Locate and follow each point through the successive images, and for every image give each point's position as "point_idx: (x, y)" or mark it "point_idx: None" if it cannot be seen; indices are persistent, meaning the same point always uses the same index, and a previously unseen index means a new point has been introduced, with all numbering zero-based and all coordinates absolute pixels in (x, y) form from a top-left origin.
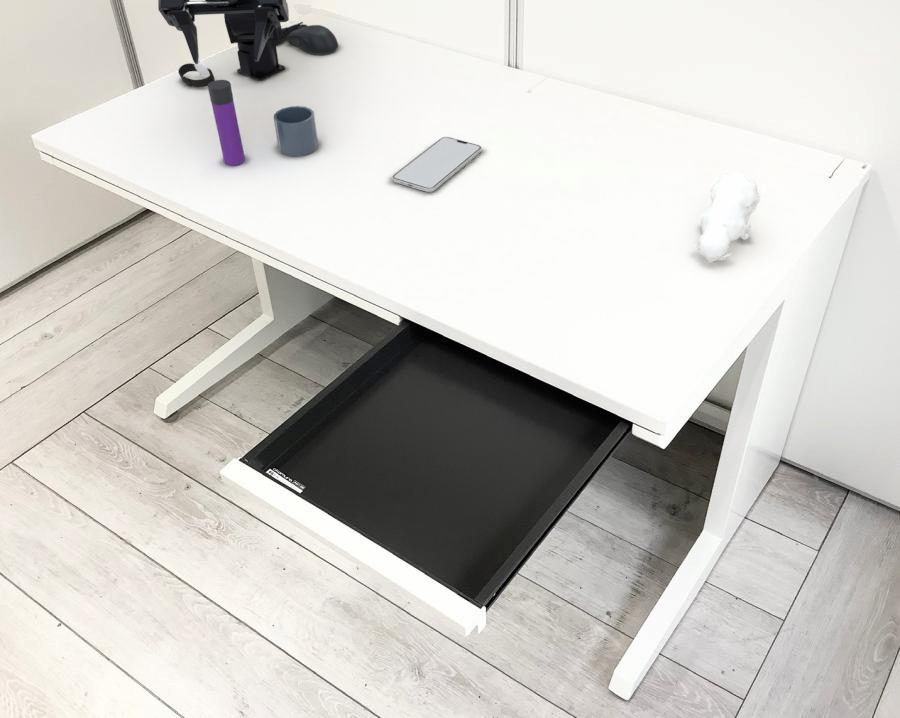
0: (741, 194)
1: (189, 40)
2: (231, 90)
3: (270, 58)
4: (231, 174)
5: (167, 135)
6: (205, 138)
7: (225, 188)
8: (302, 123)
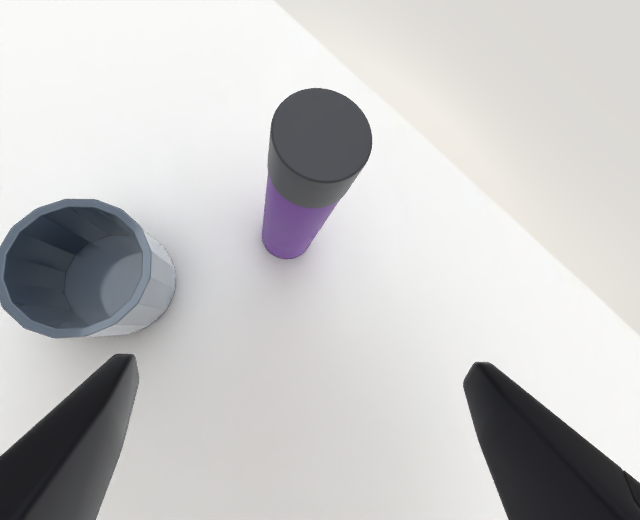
0: None
1: (593, 461)
2: (269, 143)
3: None
4: None
5: None
6: (372, 365)
7: None
8: (49, 206)
